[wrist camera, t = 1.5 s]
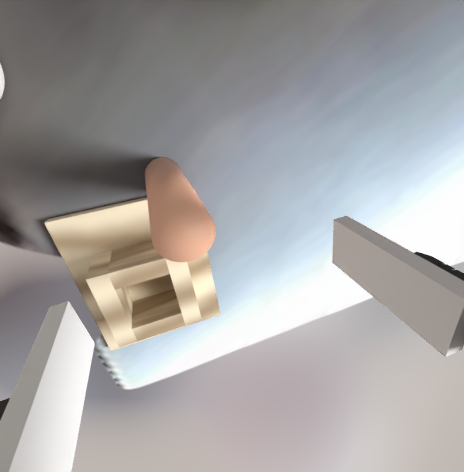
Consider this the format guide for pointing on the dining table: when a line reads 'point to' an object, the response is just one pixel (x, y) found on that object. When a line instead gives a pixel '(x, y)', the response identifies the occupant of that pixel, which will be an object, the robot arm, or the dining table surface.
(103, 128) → the dining table surface
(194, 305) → the socket block
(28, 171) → the dining table surface
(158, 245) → the dowel
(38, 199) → the dining table surface
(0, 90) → the water bottle
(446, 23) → the dining table surface
